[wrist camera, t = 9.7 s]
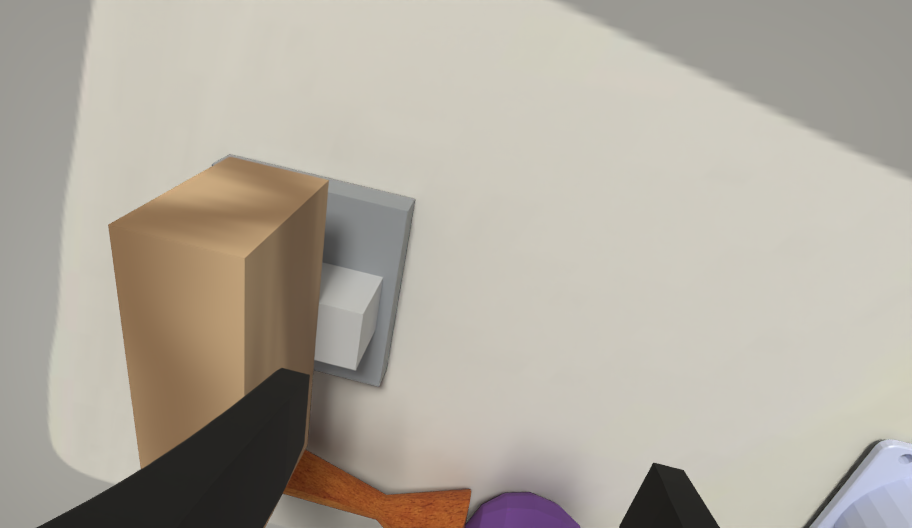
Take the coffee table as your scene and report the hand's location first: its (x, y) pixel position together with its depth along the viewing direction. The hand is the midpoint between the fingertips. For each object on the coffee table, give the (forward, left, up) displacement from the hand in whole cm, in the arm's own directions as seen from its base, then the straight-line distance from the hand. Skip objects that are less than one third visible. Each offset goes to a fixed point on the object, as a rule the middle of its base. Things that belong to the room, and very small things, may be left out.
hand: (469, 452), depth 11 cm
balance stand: (+7, +3, -10) cm, 12 cm away
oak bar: (+7, +3, -6) cm, 10 cm away
